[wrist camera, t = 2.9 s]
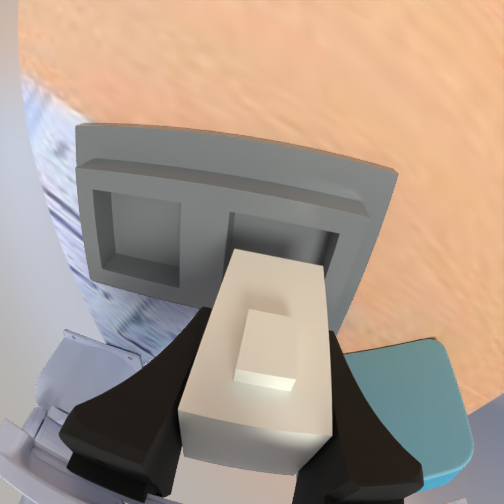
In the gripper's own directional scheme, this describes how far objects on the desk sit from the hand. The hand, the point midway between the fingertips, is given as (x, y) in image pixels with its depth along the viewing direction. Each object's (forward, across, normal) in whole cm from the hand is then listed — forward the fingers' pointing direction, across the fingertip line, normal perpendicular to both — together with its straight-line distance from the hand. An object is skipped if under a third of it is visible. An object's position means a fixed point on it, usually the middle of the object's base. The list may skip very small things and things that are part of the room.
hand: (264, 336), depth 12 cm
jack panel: (+8, +4, 0) cm, 9 cm away
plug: (+3, 0, +1) cm, 3 cm away
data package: (+8, -10, +10) cm, 17 cm away
